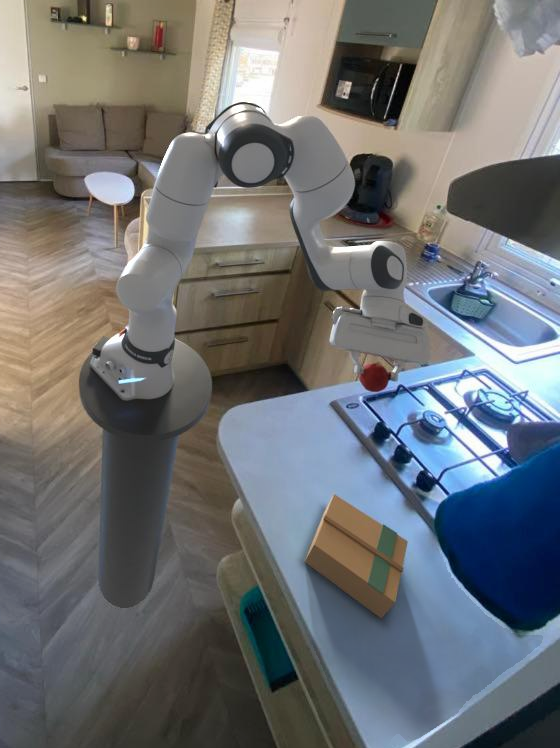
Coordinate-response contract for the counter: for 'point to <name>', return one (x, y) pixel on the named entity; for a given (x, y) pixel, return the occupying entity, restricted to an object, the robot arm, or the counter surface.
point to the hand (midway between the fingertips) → (375, 377)
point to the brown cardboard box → (358, 555)
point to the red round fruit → (374, 377)
